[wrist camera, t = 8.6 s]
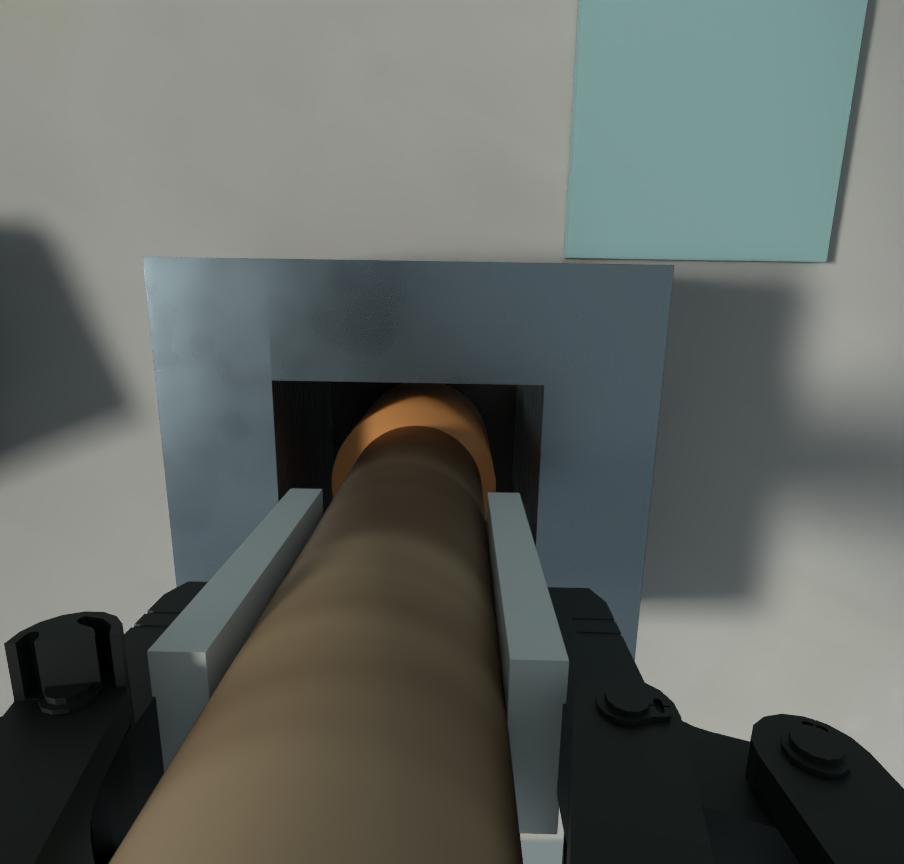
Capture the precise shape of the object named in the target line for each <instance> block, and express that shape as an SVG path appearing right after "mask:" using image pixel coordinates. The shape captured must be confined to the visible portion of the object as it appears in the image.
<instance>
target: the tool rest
mask: <svg viewBox="0 0 904 864" xmlns="http://www.w3.org/2000/svg"><path fill="white" fill-rule="evenodd" d="M867 2H868V0H579V2H578V20H577V37H576V54H575V72H574V89H573V106H572V124H571V141H570V158H569V175H568V193H567V210H566V227H565V245H564V259H612V260H676V261H740V262H803V263H818V262H826V261H827V255H828V248H829V242H830V236H831V229H832V223H833V217H834V211H835V204H836V198H837V192H838V185H839V179H840V173H841V166H842V160H843V154H844V147H845V141H846V135H847V129H848V122H849V116H850V110H851V103H852V97H853V91H854V84H855V78H856V72H857V65H858V59H859V53H860V47H861V40H862V34H863V28H864V21H865V15H866V9H867Z"/></svg>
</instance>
